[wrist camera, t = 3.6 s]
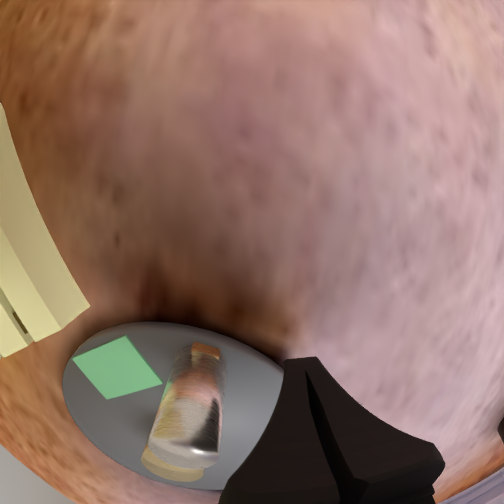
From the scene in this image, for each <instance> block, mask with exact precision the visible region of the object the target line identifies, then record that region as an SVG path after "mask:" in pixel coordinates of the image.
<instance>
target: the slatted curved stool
mask: <svg viewBox="0 0 504 504" xmlns="http://www.w3.org/2000/svg"><path fill="white" fill-rule="evenodd" d="M89 307H90V305H89V303H88V302H87V300H86V298H85V297H84V295H83V294H82V292H81V290H80V289H79V287H78V285H77V284H76V282H75V280H74V278H73V277H72V275H71V273H70V271H69V270H68V268H67V266H66V264H65V262H64V261H63V259H62V257H61V255H60V253H59V251H58V249H57V247H56V245H55V243H54V241H53V239H52V237H51V235H50V233H49V231H48V229H47V227H46V225H45V223H44V221H43V219H42V216H41V214H40V212H39V210H38V207H37V205H36V203H35V200H34V198H33V196H32V193H31V191H30V188H29V186H28V183H27V181H26V178H25V175H24V173H23V170H22V167H21V164H20V161H19V159H18V156H17V153H16V150H15V146H14V143H13V140H12V137H11V133H10V130H9V126H8V123H7V119H6V115H5V111H4V108H3V106H2V104H1V102H0V359H1V358H2V357H4V358H5V357H7V356H9V355H11V354H13V353H15V352H17V351H19V350H21V349H23V348H25V347H27V346H28V345H29V344H30V343H31V342H32V341H33V340H34V341H35V342H37V341H39V340H41V339H43V338H45V337H47V336H49V335H51V334H53V333H56V332H58V331H60V330H62V329H63V328H64V327H65V326H66V325H67V324H69V323H70V322H71V321H72V320H73V319H75V318H76V317H77V316H78V315H80V314H81V313H82V312H83V311H85V310H86V309H87V308H89Z"/></svg>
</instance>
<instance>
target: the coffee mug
mask: <svg viewBox="0 0 504 504" xmlns="http://www.w3.org/2000/svg"><path fill="white" fill-rule="evenodd" d="M498 432H499V435H500V437H501V439H502V441H503V443H504V418H503V420H502V421H501V423H500V425H499V427H498Z"/></svg>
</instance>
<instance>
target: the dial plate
mask: <svg viewBox="0 0 504 504" xmlns="http://www.w3.org/2000/svg"><path fill="white" fill-rule="evenodd" d="M194 341H195V342H198V343H202V344H205V345H208V346H212V347H215V348H219V349H221V350H220V352H221V353H222V355H223V356H224V357H225V359H226V361H227V376H226V386H225V397H224V407H223V417H222V428H221V438H220V449H219V459H218V461H217V462H216V463H215V464H214V465H212V466H210V467H207V468H204V474H203V476H202V477H201V478H200V479H198V480H195V481H190V482H180V481H173V480H169V479H165V478H163V477H160V476H158V475H156V474H154V473H152V472H151V471H149V470H148V469H147V468H146V467H145V466H144V465H143V464H142V462H141V457H142V454H143V451H144V448H145V444H146V441H147V438H148V435H149V432H150V431H151V430H152V427H153V424H154V421H155V418H156V415H157V412H158V409H159V405H160V402H161V399H162V396H163V393H164V390H165V387H166V384H167V381H168V378H169V375H170V373H171V370H172V367H173V364H174V361H175V358H176V355H177V353H178V352H179V350H181V349H182V348H183V347H185V346H187V345H191V344H193V343H194ZM283 375H284V370H283V369H282V368H281V367H280V366H279V365H278V364H276V363H275V362H274V361H272V360H271V359H270V358H268V357H267V356H265V355H264V354H262V353H260V352H258V351H257V350H255V349H253V348H252V347H250V346H248V345H246V344H243V343H241V342H239V341H237V340H235V339H232V338H230V337H227V336H224V335H221V334H218V333H216V332H213V331H210V330H205V329H201V328H197V327H193V326H189V325H183V324H176V323H169V322H150V321H147V322H132V323H126V324H121V325H116V326H112V327H109V328H107V329H104V330H101V331H99V332H97V333H96V334H94V335H92V336H91V337H89V338H88V339H87V340H86V341H85V342H83V343H82V344H81V345H80V346H79V348H78V349H77V350H76V351H75V353H74V354H73V355H72V357H71V358H70V360H69V361H68V363H67V365H66V367H65V370H64V373H63V380H62V388H63V395H64V399H65V403H66V405H67V408H68V410H69V413H70V414H71V416H72V418H73V420H74V422H75V423H76V424H77V426H78V427H79V429H80V430H81V431H82V432H83V434H84V435H85V436H86V437H87V438H88V439H89V440H90V441H91V442H92V443H93V444H94V445H95V446H96V447H97V448H98V449H99V450H101V451H102V452H103V453H104V454H106V455H107V456H108V457H110V458H111V459H113V460H114V461H116V462H117V463H119V464H121V465H122V466H124V467H126V468H128V469H130V470H132V471H134V472H136V473H138V474H140V475H143V476H145V477H148V478H150V479H153V480H156V481H159V482H162V483H166V484H170V485H174V486H179V487H185V488H192V489H202V490H223V489H224V487H225V485H226V483H227V481H228V479H229V478H230V477H231V475H232V474H233V473H234V472H235V471H236V470H237V469H238V468H239V467H240V465H241V464H242V463H243V462H244V461H245V459H246V458H247V456H248V455H249V454H250V452H251V451H252V450H253V448H254V447H255V445H256V444H257V442H258V441H259V439H260V437H261V435H262V434H263V432H264V430H265V428H266V426H267V424H268V422H269V420H270V418H271V416H272V413H273V411H274V408H275V405H276V403H277V400H278V397H279V394H280V390H281V386H282V381H283Z"/></svg>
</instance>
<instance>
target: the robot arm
mask: <svg viewBox="0 0 504 504" xmlns="http://www.w3.org/2000/svg"><path fill="white" fill-rule="evenodd" d="M283 365H284V375H283V381H282V386H281V390H280V394H279V397H278V400H277V403H276V405H275V408H274V411H273V413H272V416H271V418H270V420H269V422H268V424H267V426H266V428H265V430H264V432H263V434H262V435H261V437H260V439H259V441H258V442H257V444H256V445H255V447H254V448H253V450H252V451H251V452H250V454H249V455H248V456H247V458H246V459H245V461H244V462H243V463H242V464H241V465H240V467H239V468H238V469H237V470H236V471H235V472H234V473H233V474H232V475H231V477H230V478H229V479H228V481H227V483H226V485H225V487H224V489H223V492H222V494H221V496H220V499H219V503H218V504H436V503H435V501H434V499H433V496H432V495H433V494H434V493H435V491H434V488H433V486H432V484H433V483H434V482H435V481H436V479H437V478H438V477H439V476H440V474H441V473H442V471H443V470H444V468H445V462H444V460H443V458H442V456H441V454H440V452H439V451H438V449H437V448H436V447H435V445H434V444H433V443H431V442H428V441H425V440H422V439H419V438H416V437H413V436H411V435H409V434H407V433H404V432H402V431H400V430H398V429H396V428H394V427H393V426H391V425H389V424H387V423H386V422H384V421H382V420H380V419H379V418H378V417H376V416H375V415H373V414H372V413H370V412H369V411H368V410H366V409H365V408H364V407H363V406H361V405H360V404H359V403H358V402H357V401H356V400H354V399H353V398H352V397H351V396H350V395H349V394H348V393H347V392H346V391H345V390H344V389H343V388H342V387H341V386H340V385H339V384H338V383H337V381H336V380H335V379H334V378H333V377H332V376H331V375H330V373H329V372H328V371H327V370H326V368H325V367H324V366H323V365H322V363H321V362H320V360H319V359H318V358H317V357H316V356H315V357H306V358H297V359H286V360H285V361H284V362H283ZM438 504H504V468H502V469H500V470H499V471H497V472H496V473H494V474H493V475H491V476H489V477H488V478H486V479H484V480H483V481H481V482H479V483H477V484H476V485H474V486H472V487H470V488H468V489H467V490H465V491H463V492H461V493H459V494H457V495H455V496H453V497H451V498H449V499H447V500H444V501H442V502H440V503H438Z"/></svg>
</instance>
